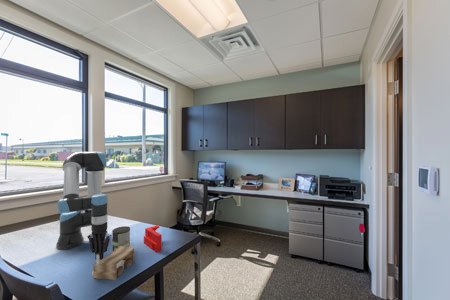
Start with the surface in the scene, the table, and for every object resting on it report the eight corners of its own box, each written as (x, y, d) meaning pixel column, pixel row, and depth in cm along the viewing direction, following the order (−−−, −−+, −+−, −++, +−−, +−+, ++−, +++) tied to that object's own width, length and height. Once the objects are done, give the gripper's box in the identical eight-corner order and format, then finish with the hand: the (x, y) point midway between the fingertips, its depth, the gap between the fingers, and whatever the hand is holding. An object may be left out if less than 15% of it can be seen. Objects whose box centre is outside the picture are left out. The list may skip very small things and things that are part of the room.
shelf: (93, 278, 101) (93, 262, 101) (115, 259, 118) (115, 246, 118) (115, 279, 99) (115, 263, 99) (134, 261, 116) (134, 247, 116)
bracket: (143, 229, 139) (157, 225, 146) (143, 243, 139) (157, 239, 146) (156, 236, 126) (170, 231, 134) (156, 252, 126) (170, 247, 134)
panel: (92, 276, 103) (92, 269, 103) (107, 263, 115) (107, 257, 115) (113, 277, 102) (113, 270, 102) (127, 264, 113) (127, 258, 114)
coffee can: (109, 255, 123) (109, 232, 123) (116, 247, 133) (116, 226, 133) (126, 254, 124) (126, 232, 124) (132, 246, 134) (132, 226, 134)
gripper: (83, 224, 107) (83, 268, 106) (105, 225, 105) (105, 269, 105) (93, 219, 114) (93, 260, 114) (115, 220, 113) (114, 262, 113)
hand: (99, 265), depth 109 cm, fingers closed
